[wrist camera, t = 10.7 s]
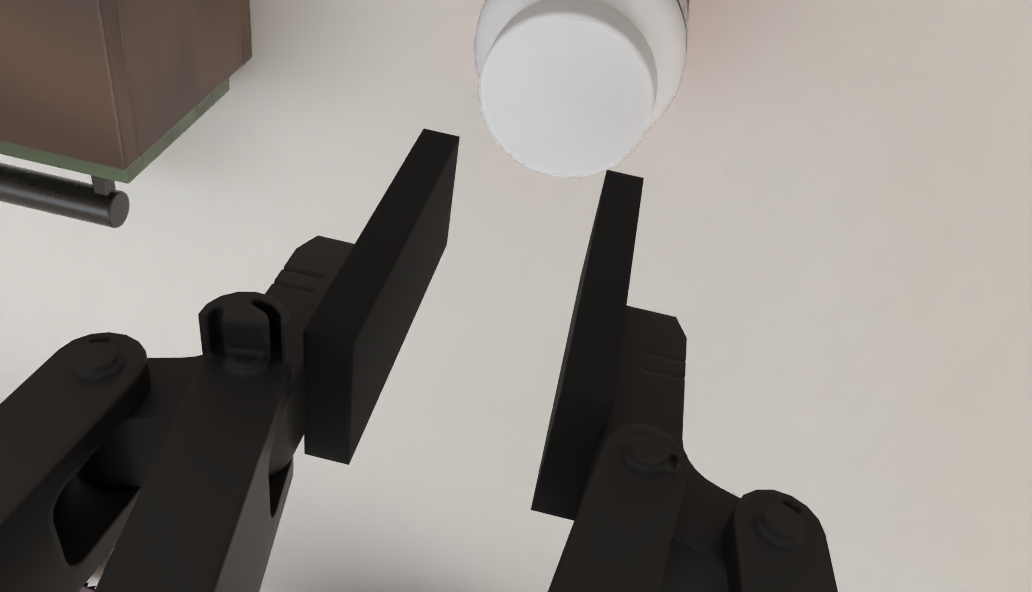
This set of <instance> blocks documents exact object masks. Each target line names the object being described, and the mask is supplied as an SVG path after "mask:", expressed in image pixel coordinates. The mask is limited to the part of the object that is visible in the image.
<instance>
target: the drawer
mask: <svg viewBox="0 0 1032 592" xmlns="http://www.w3.org/2000/svg"><path fill="white" fill-rule="evenodd" d="M228 91H229V78H228V79H226V80H225V81H224V82H223V83H222V84H221V85H220V86H219V87H218V88H216V89H215V90H214V91H213V92H212V93H211V94H210V95H209V96H208V97H207V98H205V99H204V100H203V101H202V102H201V103H200V104H199V105H198V106H197V107H195V108H194V109H193V110H192V111H191V112H190V113H189V114H188V115H187V116H185V117H184V118H183V119H182V120H181V121H180V122H179V123H178V124H177V125H176V126H174V127H173V128H172V129H171V130H170V131H169V132H168V133H167V134H166V135H164V136H163V137H162V138H161V139H160V140H159V141H158V142H157V143H156V144H155V145H153V146H152V147H151V148H150V149H149V150H148V151H147V152H146V153H145V154H143V155H142V156H141V157H138V159H137V160H136V161H135V162H134V163H133V164H132V165H131V166H130V167H129V168H127V169H126V170H121V169H117V168H112V167H108V166H104V165H99V164H95V163H91V162H86V161H82V160H78V159H74V158H69V157H65V156H61V155H56V154H52V153H48V152H43V151H39V150H35V149H30V148H26V147H22V146H18V145H13V144H9V143H5V142H0V154H3V155H7V156H12V157H16V158H20V159H24V160H29V161H33V162H37V163H42V164H46V165H50V166H55V167H59V168H63V169H67V170H72V171H76V172H80V173H85V174H89V175H91V178H92V183H93V184H89V183H85V182H80V181H76V180H72V179H68V178H63V177H59V176H55V175H51V174H46V173H42V172H38V171H33V170H29V169H25V168H21V167H16V166H12V165H8V164H3V163H0V201H2V202H6V203H10V204H15V205H19V206H23V207H27V208H32V209H36V210H40V211H44V212H49V213H53V214H57V215H61V216H65V217H70V218H74V219H78V220H82V221H87V222H91V223H95V224H99V225H104V226H108V227H112V228H117V227H120V226H121V225H122V224H123V223H124V221H125V220H126V218H127V215H128V211H129V199H128V196H127V194H126V193H124V192H123V191H119V190H115V183H114V180H115V181H119V182H123V183H130V182H131V181H132V180H133V179H134V178H135V177H136V176H137V175H138V174H139V173H140V172H142V171H143V170H144V169H145V168H146V167H147V166H148V165H149V164H150V163H151V162H152V161H153V160H154V159H156V158H157V157H158V156H159V155H160V154H161V153H162V152H163V151H164V150H165V149H166V148H167V147H168V146H170V145H171V144H172V143H173V142H174V141H175V140H176V139H177V138H178V137H179V136H180V135H181V134H182V133H183V132H185V131H186V130H187V129H188V128H189V127H190V126H191V125H192V124H193V123H194V122H195V121H196V120H197V119H199V118H200V117H201V116H202V115H203V114H204V113H205V112H206V111H207V110H208V109H209V108H210V107H211V106H213V105H214V104H215V103H216V102H217V101H218V100H219V99H220V98H221V97H222V96H223V95H224V94H225V93H227V92H228Z"/></svg>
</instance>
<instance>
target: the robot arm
mask: <svg viewBox="0 0 1032 592" xmlns="http://www.w3.org/2000/svg"><path fill="white" fill-rule="evenodd" d="M458 146H459V136H454V135H450V134H445V133H441V132H436V131H432V130H428V129H423V131H422V132H421V134H420V136H419V137H418V139H417V141H416V142H415V144H414V146H413V147H412V149H411V151H410V152H409V154H408V156H407V157H406V159H405V161H404V163H403V164H402V166H401V168H400V169H399V171H398V173H397V174H396V176H395V178H394V179H393V181H392V183H391V184H390V186H389V188H388V189H387V191H386V193H385V194H384V196H383V198H382V199H381V201H380V203H379V205H378V206H377V208H376V210H375V211H374V213H373V215H372V216H371V218H370V220H369V221H368V223H367V225H366V226H365V228H364V230H363V231H362V233H361V235H360V236H359V238H358V240H357V241H356V243H355V244H352V243H348V242H344V241H339V240H335V239H331V238H326V237H322V236H316V237H315V238H313V239H311V240H310V241H308V242H306V243H305V244H303V245H302V246H300V247H298V248H297V249H296V250H295V251H294V253H293V254H292V256H291V257H290V259H289V260H288V262H287V263H286V264H285V266H284V270H281V272H280V273H279V275H278V276H277V278H276V279H275V281H274V284H272V285H271V286H270V288H269V289H268V291H267V292H266V294H261V293H257V292H236V293H232V294H227V295H223V296H220V297H218V298H217V299H215V300H213V301H211V302H209V303H208V304H206V306H205V307H204V308H203V309H202V310H201V312H200V313H199V314H198V316H199V325H200V334H201V343H202V352H203V355H200V356H196V357H185V358H147V355H146V351H145V350H144V348H143V347H142V345H141V344H140V343H139V342H138V341H137V340H135V339H133V338H131V337H129V336H127V335H123V334H116V333H110V332H108V333H98V334H90V335H87V336H84V337H81V338H78V339H75V340H73V341H71V342H70V343H68V344H67V345H65V346H64V347H62V348H61V349H59V350H58V351H57V352H56V353H55V354H54V355H53V356H51V357H50V358H49V359H48V360H47V361H46V362H45V363H44V364H43V365H42V366H41V367H40V368H39V369H37V370H36V371H35V372H34V373H33V374H32V375H31V376H30V377H29V378H28V379H27V380H26V381H25V382H23V383H22V384H21V385H20V386H19V387H18V388H17V389H16V390H15V391H14V392H13V393H12V394H11V395H9V396H8V397H7V398H6V399H5V400H4V401H3V402H2V403H1V404H0V592H79V591H80V589H81V588H82V587H83V586H84V584H85V583H86V582H87V580H88V579H89V578H90V577H91V575H92V574H93V573H94V571H95V570H96V569H97V568H98V566H99V565H100V564H101V562H102V561H103V560H104V559H105V557H106V556H107V555H108V553H109V552H110V551H111V550H112V548H113V547H114V546H115V544H116V546H115V548H114V550H113V552H112V554H111V556H110V559H109V561H108V563H107V565H106V567H105V570H104V572H103V574H102V576H101V578H100V580H99V583H98V585H97V587H96V589H95V591H94V592H259V590H260V587H261V583H262V580H263V576H264V573H265V569H266V566H267V563H268V559H269V556H270V552H271V549H272V545H273V542H274V539H275V535H276V532H277V528H278V525H279V521H280V518H281V515H282V511H283V508H284V504H285V501H286V498H287V494H288V491H289V487H290V484H291V480H292V477H293V454H294V452H295V451H296V449H297V447H298V445H299V443H300V441H301V439H302V437H303V435H304V447H305V454H307V455H311V456H315V457H319V458H323V459H327V460H332V461H336V462H340V463H344V464H348V465H349V463H350V461H351V459H352V456H353V454H354V452H355V450H356V447H357V445H358V443H359V441H360V438H361V436H362V434H363V432H364V429H365V427H366V425H367V423H368V420H369V418H370V416H371V414H372V411H373V409H374V407H375V405H376V402H377V400H378V398H379V396H380V393H381V391H382V389H383V387H384V384H385V382H386V380H387V378H388V375H389V373H390V371H391V369H392V366H393V364H394V362H395V360H396V357H397V355H398V353H399V351H400V348H401V346H402V344H403V342H404V339H405V337H406V335H407V333H408V330H409V328H410V326H411V324H412V321H413V319H414V317H415V315H416V312H417V310H418V308H419V306H420V303H421V301H422V299H423V297H424V294H425V292H426V290H427V288H428V285H429V283H430V281H431V279H432V276H433V274H434V272H435V270H436V267H437V265H438V263H439V261H440V258H441V256H442V254H443V252H444V249H445V247H446V245H447V238H448V230H449V221H450V213H451V205H452V196H453V188H454V179H455V171H456V163H457V154H458ZM643 179H644V178H641V177H637V176H632V175H628V174H623V173H619V172H614V171H610V170H607V172H606V176H605V180H604V184H603V188H602V192H601V196H600V200H599V204H598V208H597V212H596V216H595V220H594V224H593V228H592V232H591V236H590V241H589V245H588V249H587V253H586V257H585V261H584V265H583V269H582V273H581V277H580V282H579V287H578V291H577V296H576V301H575V305H574V310H573V315H572V319H571V324H570V329H569V334H568V338H567V343H566V348H565V352H564V357H563V362H562V366H561V371H560V376H559V380H558V385H557V390H556V394H555V399H554V404H553V408H552V413H551V418H550V423H549V427H548V432H547V437H546V441H545V446H544V451H543V455H542V460H541V465H540V469H539V474H538V479H537V483H536V488H535V493H534V498H533V502H532V507H531V510H534V511H538V512H542V513H546V514H550V515H554V516H558V517H562V518H566V519H570V520H574V523H573V526H572V529H571V531H570V534H569V537H568V539H567V542H566V545H565V547H564V550H563V553H562V555H561V558H560V561H559V564H558V566H557V569H556V572H555V574H554V577H553V580H552V582H551V585H550V588H549V590H548V592H838V591H837V586H836V581H835V577H834V572H833V567H832V563H831V558H830V554H829V549H828V544H827V540H826V535H825V533H824V530H823V528H822V526H821V524H820V521H819V519H818V518H817V517H816V516H815V515H814V514H813V513H812V511H811V510H810V509H809V508H808V507H807V506H806V505H804V504H803V503H801V502H800V501H798V500H797V499H795V498H794V497H792V496H790V495H787V494H784V493H781V492H778V491H775V490H755V491H752V492H750V493H747V494H745V495H743V496H742V498H739V497H737V496H735V495H733V494H731V493H729V492H727V491H725V490H724V489H722V488H720V487H718V486H716V485H715V484H713V483H712V482H710V481H708V480H707V479H705V478H704V477H703V476H702V475H701V474H700V473H699V472H698V471H697V470H696V469H695V468H694V467H693V465H692V464H691V463H690V461H689V459H688V457H687V455H686V453H685V451H684V449H683V441H682V432H683V410H684V387H685V380H684V377H685V364H686V363H685V360H686V341H687V338H686V336H685V334H684V332H683V330H682V328H681V326H680V324H679V322H678V320H677V318H676V317H673V316H669V315H665V314H660V313H656V312H652V311H648V310H643V309H639V308H635V307H630V306H626V304H627V297H628V289H629V282H630V275H631V267H632V260H633V253H634V245H635V238H636V231H637V223H638V216H639V208H640V201H641V194H642V186H643Z"/></svg>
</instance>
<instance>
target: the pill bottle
mask: <svg viewBox="0 0 1032 592" xmlns="http://www.w3.org/2000/svg"><path fill="white" fill-rule="evenodd" d="M688 11H689V0H486V1H485V3H484V5H483V8H482V10H481V13H480V16H479V19H478V23H477V28H476V34H475V41H474V52H475V63H476V69H477V73H478V77H479V102H480V108H481V112H482V115H483V118H484V121H485V124H486V126H487V128H488V129H489V131H490V133H491V135H492V136H493V138H494V139H495V140H496V142H497V143H498V144H499V145H500V147H501V148H502V149H503V150H504V151H505V152H506V153H507V154H509V155H510V156H511V157H512V158H513V159H515V160H516V161H518V162H519V163H521V164H522V165H524V166H526V167H528V168H530V169H532V170H535V171H537V172H540V173H543V174H547V175H551V176H557V177H569V178H572V177H583V176H589V175H593V174H597V173H600V172H602V171H605V170H607V169H609V168H611V167H613V166H615V165H617V164H618V163H620V162H621V161H622V160H624V159H625V158H626V157H627V156H628V155H629V154H631V153H632V152H633V151H634V150H635V148H636V147H637V146H638V145H639V143H640V142H641V140H642V139H643V137H644V135H645V133H646V131H647V130H648V129H649V128H650V127H651V126H652V125H653V124H655V123H656V121H657V120H658V119H659V118H660V117H661V116H662V115H663V114H664V112H665V111H666V110H667V108H668V107H669V105H670V104H671V102H672V100H673V98H674V96H675V94H676V92H677V90H678V87H679V85H680V82H681V79H682V75H683V71H684V65H685V59H686V48H687V31H688Z"/></svg>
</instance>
